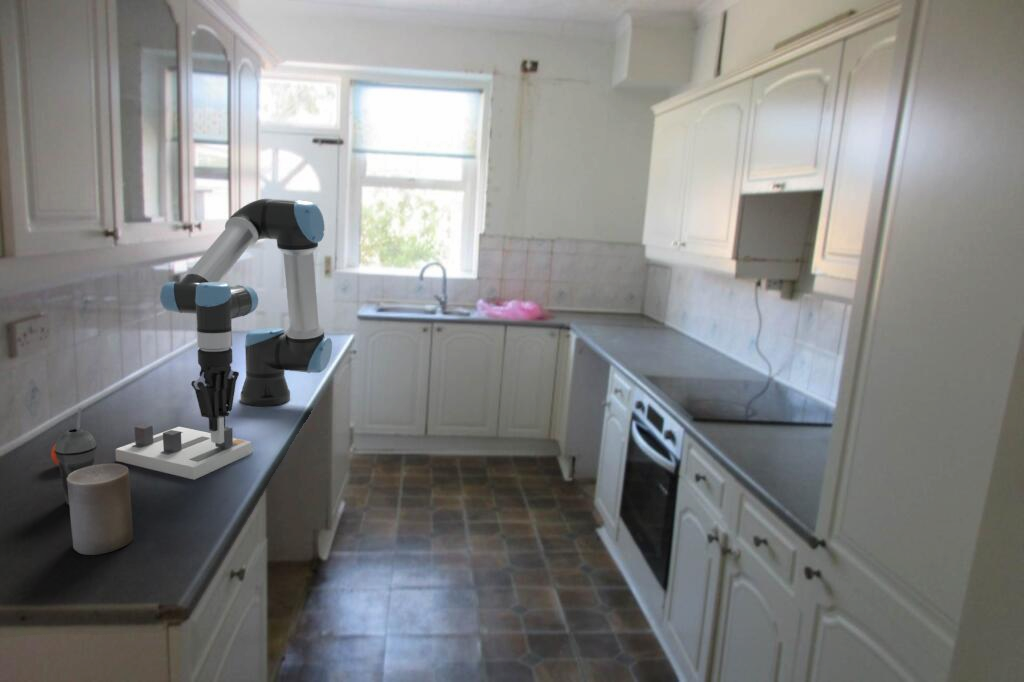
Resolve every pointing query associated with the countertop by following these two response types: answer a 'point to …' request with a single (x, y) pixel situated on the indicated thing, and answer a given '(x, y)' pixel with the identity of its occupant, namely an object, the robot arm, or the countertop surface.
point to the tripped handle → (226, 438)
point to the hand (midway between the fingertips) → (217, 441)
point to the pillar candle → (100, 508)
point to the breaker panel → (180, 451)
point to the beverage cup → (74, 452)
